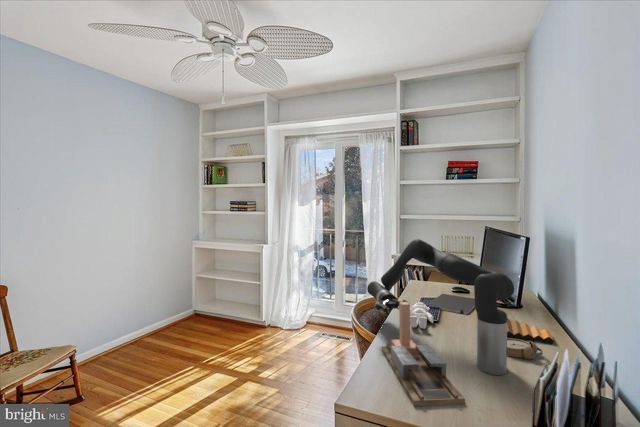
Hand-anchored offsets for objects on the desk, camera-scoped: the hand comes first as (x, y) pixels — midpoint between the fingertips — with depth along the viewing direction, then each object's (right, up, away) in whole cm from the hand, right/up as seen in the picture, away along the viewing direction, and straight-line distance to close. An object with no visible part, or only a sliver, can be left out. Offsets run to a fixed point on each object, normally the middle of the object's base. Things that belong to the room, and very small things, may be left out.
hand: (396, 310), depth 135 cm
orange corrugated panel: (+58, -14, +17) cm, 62 cm away
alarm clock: (+45, -15, -8) cm, 48 cm away
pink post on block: (+1, -13, -10) cm, 16 cm away
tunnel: (+1, -13, -23) cm, 27 cm away
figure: (+18, -14, +27) cm, 35 cm away
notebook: (+45, -13, +54) cm, 72 cm away
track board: (+1, -15, -23) cm, 27 cm away
